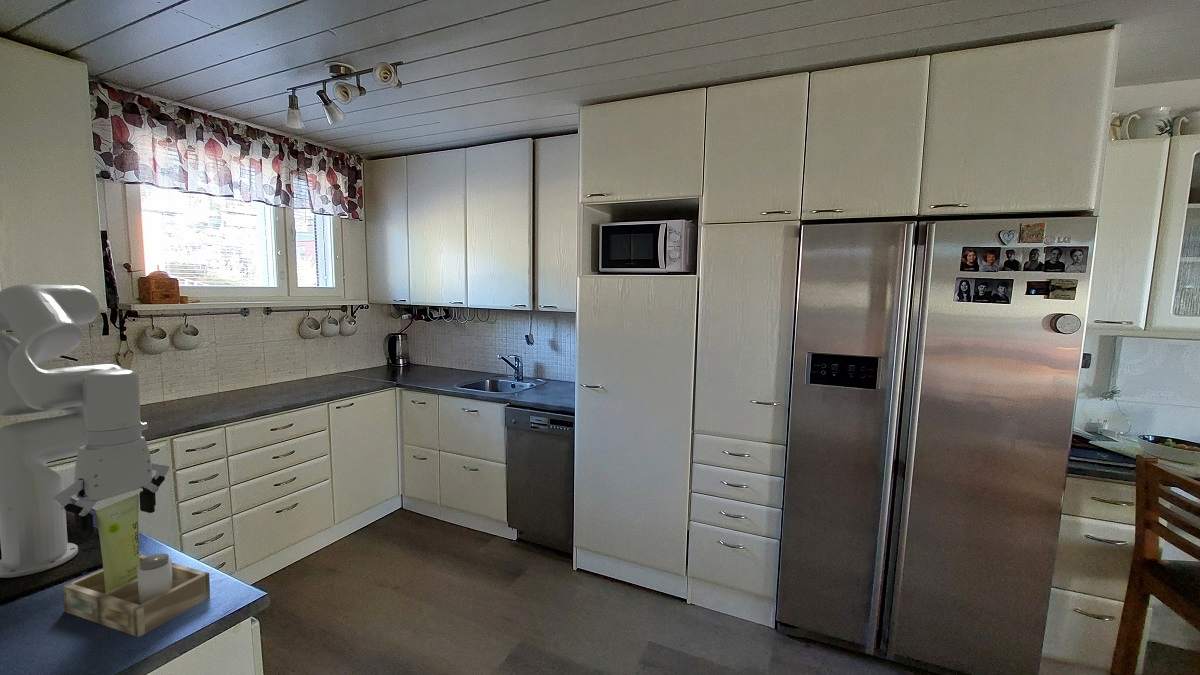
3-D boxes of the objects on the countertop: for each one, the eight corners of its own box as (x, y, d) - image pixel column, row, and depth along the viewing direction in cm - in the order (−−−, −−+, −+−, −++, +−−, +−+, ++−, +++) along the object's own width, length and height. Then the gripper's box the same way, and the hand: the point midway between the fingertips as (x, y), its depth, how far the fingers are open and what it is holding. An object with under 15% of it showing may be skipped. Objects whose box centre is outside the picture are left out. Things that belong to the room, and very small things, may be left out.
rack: (63, 616, 92) (61, 586, 91) (140, 580, 103) (139, 553, 103) (137, 642, 86) (135, 610, 85) (210, 601, 98) (209, 573, 97)
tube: (138, 601, 95) (132, 504, 93) (101, 610, 92) (95, 510, 91) (143, 586, 100) (138, 493, 98) (108, 594, 97) (103, 499, 95)
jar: (132, 614, 92) (130, 563, 91) (162, 599, 96) (160, 550, 95) (150, 620, 90) (148, 568, 89) (179, 604, 95) (177, 555, 94)
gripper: (152, 421, 102) (156, 501, 104) (38, 445, 86) (44, 539, 87) (178, 426, 100) (181, 507, 102) (66, 451, 84) (71, 547, 85)
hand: (118, 522), depth 94 cm, fingers open, 9 cm apart
